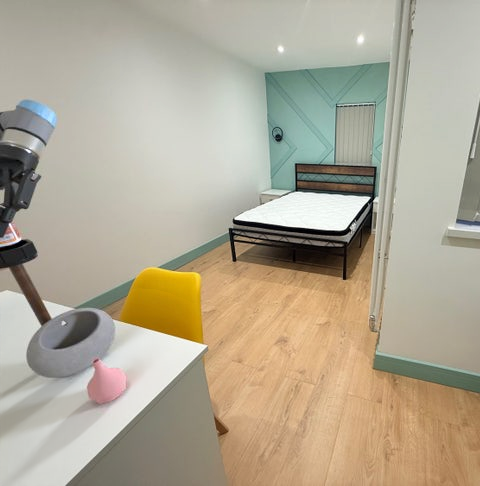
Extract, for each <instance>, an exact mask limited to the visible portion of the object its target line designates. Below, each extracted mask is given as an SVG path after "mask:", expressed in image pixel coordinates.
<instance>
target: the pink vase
mask: <svg viewBox="0 0 480 486" xmlns="http://www.w3.org/2000/svg"><path fill="white" fill-rule="evenodd" d="M92 364H93V365H92V366H93V368H94V371H93V376H92V377H91V378H90V380H89V381H88V383H87V385H86V390H87V391H86V392H87V395H88V398H89V399H90V400H91V401H93V402H95V403H97V404H107V403H109V402H111V401H113V400H115V399H117V398H118V397H120V395H122V394H123V393H124V391H125V389H126V387H127V376H126V373H125V372H124V371H123V370H122V369H121V368H119V367H108V366H105V365H103V363H102V360H101V359H100V358H96V359H94V360H93V361H92Z"/></svg>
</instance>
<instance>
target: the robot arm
mask: <svg viewBox="0 0 480 486" xmlns="http://www.w3.org/2000/svg"><path fill="white" fill-rule="evenodd" d="M57 121H58V117H57V114H56V113H55V112H54V110H52V109H50V107H48V106H47V105H45V104H44V103H41V102H39V101H36V100H34V99H33V100H32V99H22V100H20V101H19V102H18V103H17V104H16V105H15V109H13V110H5V111H0V191H3V192H4V193H3V202H2V203H0V206H2V207H0V238H3V237H4V235H5V233H6V230H7V228H8V226H9V224H10V223H11V222H12V221H13V220H14V218H15V215H16V213H18V212H20V211H21V210H28V209H29V207H30V205H31V202H32V199H33V197H34V193H35V190H36V188H37V184H38V183H39V181H40V180H41V178H42V175H41V174H39V173H38V172H36V170H37V167H38V165H39V163H40V160H41V159H42V155H43V153H44V151H45V149H46V147H47V145H48V143H49V141H50V139H51V137H52V134H53V132H54V130H55V129H56V123H57ZM3 207H4V208H3ZM13 222H14V221H13Z"/></svg>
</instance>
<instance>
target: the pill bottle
mask: <svg viewBox="0 0 480 486" xmlns="http://www.w3.org/2000/svg"><path fill="white" fill-rule="evenodd" d="M0 207H3V206H1V205H0ZM3 208H5V207H3ZM20 240H22V236H21V234H20V231H19V230H18V229H17V226H16V225H15V222H14V221H12V222H11V223H10V224H9V226H8V228H7V230H6V233H5V235H4V237H3V238H0V247H4V246H8V245H12V244H15V243H17V242H19V241H20Z"/></svg>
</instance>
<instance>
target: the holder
mask: <svg viewBox="0 0 480 486" xmlns="http://www.w3.org/2000/svg"><path fill="white" fill-rule="evenodd" d="M38 257H39V256H38V250H37V248H36V246H35V243H34V242H33V241H32V240H31V239H29V238H27V239H26V238H25V239H21V240H20V241H19V242H17V243H15V244H12V245H8V246H4V247H0V270H2V269H9V267H13V266H17V265H20V264H23V265H24V264H26V263H29V262H31V261H33V260H35V259H36V258H38Z"/></svg>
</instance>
